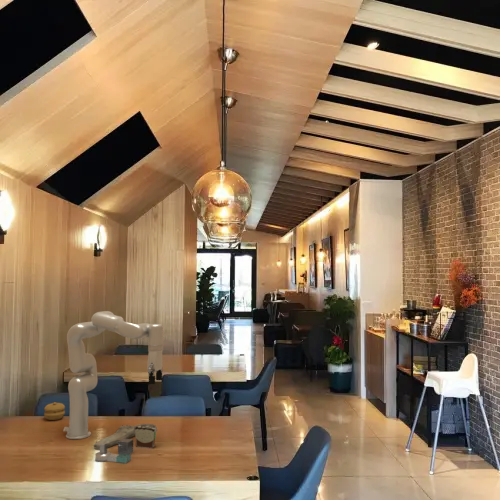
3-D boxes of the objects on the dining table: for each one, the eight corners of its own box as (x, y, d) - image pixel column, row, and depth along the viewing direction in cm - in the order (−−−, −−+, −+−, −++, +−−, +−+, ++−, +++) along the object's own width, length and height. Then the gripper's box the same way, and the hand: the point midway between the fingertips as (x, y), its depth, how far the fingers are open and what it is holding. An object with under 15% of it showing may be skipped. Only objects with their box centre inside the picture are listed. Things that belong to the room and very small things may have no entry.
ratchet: (92, 461, 232) (92, 445, 232) (100, 455, 238) (100, 440, 239) (124, 464, 227) (124, 448, 228) (132, 459, 234) (132, 443, 235)
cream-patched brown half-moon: (161, 445, 254) (161, 424, 255) (155, 448, 248) (155, 428, 249) (140, 442, 258) (140, 422, 259) (133, 446, 252) (133, 425, 253)
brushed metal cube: (118, 454, 240) (118, 441, 241) (123, 451, 245) (123, 438, 246) (127, 455, 239) (128, 442, 239) (133, 451, 244) (133, 439, 244)
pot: (49, 416, 309) (50, 399, 310) (68, 416, 308) (68, 400, 309) (40, 421, 297) (40, 404, 298) (59, 422, 296) (59, 404, 297)
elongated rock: (88, 452, 249) (104, 455, 245) (88, 441, 249) (104, 444, 245) (130, 428, 281) (145, 431, 278) (131, 419, 281) (146, 422, 278)
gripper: (155, 346, 269) (154, 378, 268) (142, 350, 252) (141, 385, 251) (168, 346, 268) (168, 379, 267) (156, 350, 251) (156, 385, 250)
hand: (155, 382), depth 259 cm, fingers open, 9 cm apart
